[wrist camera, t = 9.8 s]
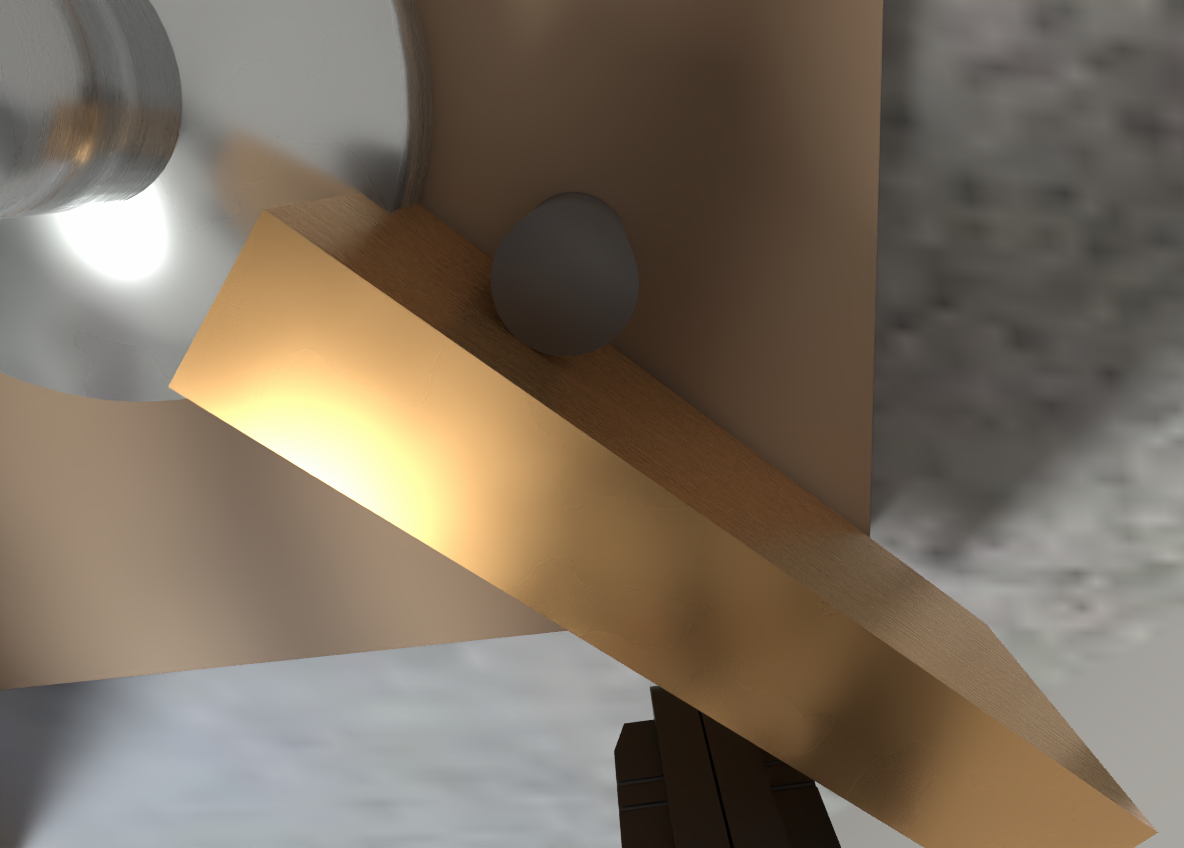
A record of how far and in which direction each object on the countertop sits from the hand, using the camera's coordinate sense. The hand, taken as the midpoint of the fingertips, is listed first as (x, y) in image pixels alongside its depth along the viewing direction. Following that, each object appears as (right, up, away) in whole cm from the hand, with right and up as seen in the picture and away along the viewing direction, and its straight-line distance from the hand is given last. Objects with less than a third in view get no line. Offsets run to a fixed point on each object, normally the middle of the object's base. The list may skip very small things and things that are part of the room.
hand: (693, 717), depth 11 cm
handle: (-3, +6, -1) cm, 7 cm away
